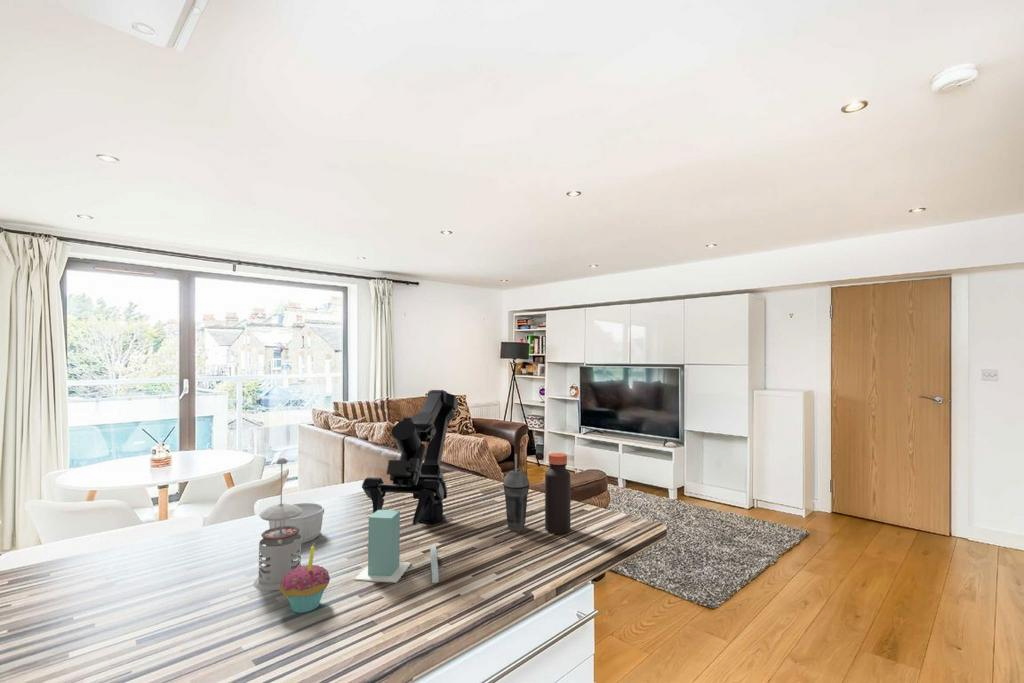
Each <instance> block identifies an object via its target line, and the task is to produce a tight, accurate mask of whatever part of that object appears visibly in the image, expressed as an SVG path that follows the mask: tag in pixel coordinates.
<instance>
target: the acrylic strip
mask: <svg viewBox="0 0 1024 683" xmlns="http://www.w3.org/2000/svg"><path fill="white" fill-rule="evenodd" d="M429 548H430V549H429V550H430V552H429V553H430V556H431V557H430V568H431V570H432V571H431V570H430V571H431V582H432V584H434V583H435V584H436V583H437V584H438V583H439V565H438V555H437V546H436V545H430V546H429Z"/></svg>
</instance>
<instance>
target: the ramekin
mask: <svg viewBox="0 0 1024 683" xmlns="http://www.w3.org/2000/svg"><path fill="white" fill-rule="evenodd" d="M291 505H296V506H298V507H300V508H301V509H302V512H301V514H300V515H298V516H296V517H294V518H291V519H286V520H285V521H284V527H285V526H294V527H297V528H299V529H300V530H299V532H298V534H299V535H300V536H301V544H306V543H308V542H311V541H313V540H315V539H316V538H317V537H318V536H319V535H320V533H321V531H322V528H323V519H324V518H323V517H324V514H325V506H324V505H322V504H320V503H315V502H301V503H292V504H291ZM268 525H269V529H271V528H275V521H268ZM281 526H282V527H283V520H281ZM276 527H280V521H276ZM298 540H299V539H296V540H294V542H296V541H298ZM278 546H282V539H281V540H278Z"/></svg>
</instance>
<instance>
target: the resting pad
mask: <svg viewBox="0 0 1024 683" xmlns="http://www.w3.org/2000/svg"><path fill="white" fill-rule="evenodd" d="M410 564H411V565H412V562H406V561H405V562H403V561H399V567H398V568H397V570H396V571H395V572H394V573H393V574H392V576H376V575H368V565H367V566H366V567H365V568H364V569H363V570H362V571H361V572H359V573H358V575H357V576H356V577H354V581H363V582H364V581H365V582H379V583H394V584H397V583H398V582H399V580H400V579H401V578H402V577H403V575H404V574H405V573H406V572H407V570H408V569H409V568H408V567H411V565H410ZM404 572H405V573H404ZM401 576H402V577H401Z"/></svg>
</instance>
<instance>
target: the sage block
mask: <svg viewBox="0 0 1024 683" xmlns="http://www.w3.org/2000/svg"><path fill="white" fill-rule="evenodd" d="M400 526H401V510H392V509H391V510H390V509H388V510H387V509H382V510H377V511H376V512H375V513H373V512H372V514H371V515H369V516H368V529H367V530H368V531H367V532H368V535H367V538H368V541H367V542H368V543H367V545H368V546H367V552H368V553H367V556H368V557H367V566H368V575H376V576H392V574H393V573H394V572H395V571H396V570H397V568H398V567H399V562H400V542H401V541H400V540H401V539H400V538H401V536H400V535H401V531H400V530H401V527H400Z"/></svg>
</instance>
